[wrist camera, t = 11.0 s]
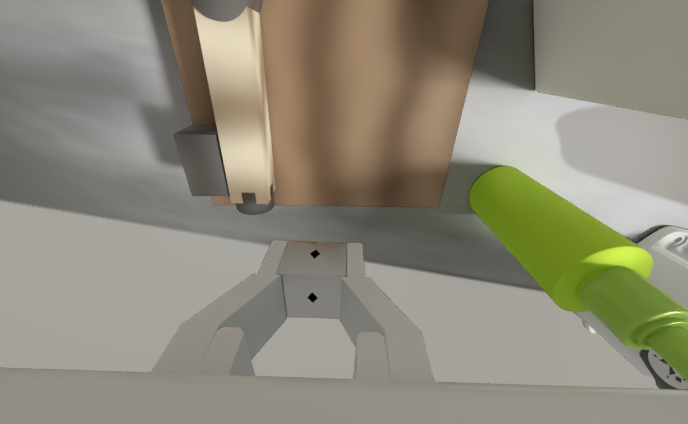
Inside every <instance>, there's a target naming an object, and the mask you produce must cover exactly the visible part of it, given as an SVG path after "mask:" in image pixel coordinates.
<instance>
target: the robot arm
mask: <svg viewBox="0 0 688 424" xmlns="http://www.w3.org/2000/svg"><path fill="white" fill-rule="evenodd" d="M636 245H638V246H640V247H641V248H643V249H644V250H646V251H647V252H648V253H649V254H650V255H651V257H652V259H653V268H652V271H651V273H650V275H649V277H648V278H647V280H648V281H650V282H651V283H652V284H654V285H655V286H656V287H658V288H659V289H661V290H662V291H663V292H665V293H666V294H667V295H669V296H670V297H672V298H673V299H674V300H676V301H677V302H679V303H680V304H681V305H683V306H684V307H685V308H687V309H688V230H687V229H682V228H678V227H673V226H668V227H664V228H662V229H659V230H658V231H656V232H654V233H653V234H651V235H649V236H648V237H646V238H645V239H643V240H642V241H640V242H639V243H637V244H636ZM573 313H575V314H576V315H578V316H579V317H580V318H581V319H582V321H583V325H584V327H585V328H586V329H587V330H589V331H590V332H591V333H597V334H599V335H600V336H601V337H602V338H603V339H604V340H605V341H606V342H607V343H608V344H609V345H611V346H612V347H613V348H614V349H615V350H616V351H617V352H618V353H619V354H620V355H622V356H623V357H624V358H625V359H626V360H627V361H628V362H629V363H630V364H632V365H633V366H634V367H635V368H636V369H637V370H638V371H639V372H641V373H642V374H643V375H645V376H647V377H650V378H654V379H655V381H656V385H657V387H658V388H659V389H644V388H613V387H582V386H550V385H520V384H519V385H517V384H489V383H488V384H486V383H458V382H457V383H456V382H435V381H434V378H433V374H432V370H431V366H430V362H429V358H428V355H427V351H426V347H425V343H424V340H423V335H422V332H421V331H420V330H419V329H418V328H417V327H416V326H415V325H414V324H413V323H412V322H411V321H410V320H409V319H408V318H407V317H406V315H405V314H403V312H402V311H401V310H400V309H399V308H398V307H397V306H396V305H395V304H394V303H393V302H392V301H391V300H390V299H389V297H388V296H387V295H386V294H385V293H384V292H383V291H382V290H381V289H380V288H379V287H378V286H377V285H376V284H375V283H374V282H373V281H372V280H371V279H370V278H365V269H364V255H363V244H362V243H319V242H304V241H283V240H273V241H272V242H271V243H270V246H269V248H268V251H267V253H266V255H265V258H264V260H263V262H262V265H261V267H260V270H259V272H258V274H252V275H251V276H249V277H248V278H247V279H245V280H244V281H242V282H241V283H239V284H238V285H236V286H235V287H234V288H232V289H231V290H229V291H228V292H226V293H225V294H224V295H222V296H221V297H219V298H218V299H216V300H215V301H214V302H212V303H211V304H209V305H208V306H207V307H205V308H204V309H202V310H201V311H199V312H198V313H196V314H195V315H193V316H192V317H191V318H189V319H188V320H186V321H185V322H183V323H182V324H181V325H180V327H179V328H178V330H177V331H176V333H175V335H174V336H173V338H172V339H171V341H170V343H169V344H168V346H167V347H166V349H165V351H164V352H163V354H162V356H161V357H160V359H159V360H158V362H157V363H156V365H155V367H154V368H153V370H152V371H151V372H148V373H147V372H121V371H90V370H60V369H58V370H57V369H29V368H0V424H688V382H687V381H686V380H685V379H684V378H683V377H682V376H681V375H680V374H679V373H678V372H677V371H676V370H675V369H673V368H672V367H671V366H670V365H669V364H668V363H667V362H666V361H665V360H664V359H663V358H662V357H661V356H659V355H658V354H657V353H656V352H655V351H654V350H645V349H632V348H629V347H627V346H625V345H624V344H623V343H622V342H621V341H620V340H619V339H618V338H617V337H616V336H615V335H614V334H613V333H612V332H611V331H610V330H609V329H608V328H607V327H606V326H605V325H604V324H603V323H602V322H601V321H600V320H599V319H598V318H597V317H596V316H595V315H594V314H593V313H592V312H591V311H588V312H573ZM286 317H302V318H304V317H305V318H306V317H307V318H308V317H309V318H330V319H340V321H341V323H342V325H343V327H344V328H345V330H346V332H347V333H348V335H349V337H350V339H351V340H352V342H353V344H354V346H355V347H356V351H355V362H354V373H353V379H334V378H331V379H330V378H302V377H272V376H270V377H269V376H255V373H254V369H253V365H252V361H251V360H252V359H253V357H254V356H255V355H256V354H257V353H258V352H259V351H260V349H261V348H262V347H263V346H264V345H265V344H266V342H267V341H268V340H269V339H270V338H271V337H272V335H273V334H274V333H275V332H276V331H277V330H278V328H279V327H280V326H281V325H282V324H283V323H284V322H285V320H286V319H287V318H286Z"/></svg>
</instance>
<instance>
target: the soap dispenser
mask: <svg viewBox="0 0 688 424" xmlns="http://www.w3.org/2000/svg"><path fill="white" fill-rule="evenodd" d="M469 204H470V206H471V208H472V209H473V210H474V211H475V213H476V214H477V215H478V216H479V217H480V218H481V219H482V220H483V222H484V223H485V224H486V225H487V226H488V227H489V228H490V230H491V231H492V232H493V233H494V234H495V235H496V236H497V237H498V239H499V240H500V241H501V242H502V243H503V244H504V245H505V247H506V248H507V249H508V250H509V251H510V252H511V253H512V254H513V256H514V257H515V258H516V259H517V260H518V261H519V262H520V264H521V265H522V266H523V267H524V268H525V269H526V270H527V272H528V273H529V274H530V275H531V276H532V277H533V278H534V279H535V281H536V282H537V283H538V284H539V285H540V286H541V287H542V289H543V290H544V291H545V292H546V293H547V294H548V295H549V296H550V297H551V299H552V300H553V301H554V302H555V303H556V304H557V305H558V306H559V307H560V308H562V309H564V310H567V311H572V312H588V311H591V312H592V313H593V314H594V315H595V316H596V317H597V318H598V319H599V320H600V321H601V322H602V323H603V324H604V325H605V326H606V327H607V328H608V329H609V330H610V331H611V332H612V333H613V334H614V335H615V336H616V337H617V338H618V339H619V340H620V341H621V342H622V343H623V344H624V345H625V346H627V347H629V348H632V349H645V350H654V351H655V352H656V353H657V354H658V355H659V356H661V357H662V358H663V359H664V360H665V361H666V362H667V363H668V364H669V365H670V366H671V367H672V368H673V369H675V370H676V371H677V372H678V373H679V374H680V375H681V376H682V377H683V378H684V379H685V380H686V381H687V382H688V309H687V308H685V307H684V306H683V305H681V304H680V303H679V302H677V301H676V300H674V299H673V298H672V297H670V296H669V295H667V294H666V293H665V292H663V291H662V290H661V289H659V288H658V287H656V286H655V285H654V284H652V283H651V282H650V281H648V280H647V278H648V277H649V275H650V273H651V271H652V268H653V259H652V257H651V255H650V254H649V253H648V252H647V251H646V250H644V249H643V248H641V247H640V246H638V245H636V244H635V243H633V242H632V241H630V240H628V239H627V238H625V237H624V236H622V235H621V234H619V233H617V232H616V231H614V230H613V229H611V228H610V227H608V226H606V225H605V224H603V223H602V222H600V221H598V220H597V219H595V218H594V217H592V216H591V215H589V214H587V213H586V212H584V211H583V210H581V209H579V208H578V207H576V206H575V205H573V204H572V203H570V202H568V201H567V200H565V199H564V198H562V197H560V196H559V195H557V194H556V193H554V192H553V191H551V190H549V189H548V188H546V187H545V186H543V185H541V184H540V183H538V182H537V181H535V180H534V179H532V178H530V177H529V176H527V175H526V174H524V173H523V172H521V171H519V170H518V169H516V168H513V167H509V166H502V167H497V168H493V169H491V170H489V171H487V172H485V173H484V174H482V175H481V176H480V177H479V178H478V179H477V180H476V181H475V182H474V184H473V185H472V187H471V189H470V192H469Z"/></svg>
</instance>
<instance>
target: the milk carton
mask: <svg viewBox="0 0 688 424" xmlns="http://www.w3.org/2000/svg"><path fill="white" fill-rule="evenodd" d="M534 46H535V85H536V91H537V92H539V93H545V94H550V95H556V96H561V97H567V98H572V99H577V100H583V101H588V102H594V103H599V104H605V105H610V106H615V107H621V108H627V109H632V110H637V111H643V112H648V113H654V114H659V115H664V116H670V117H675V118H681V119H686V120H688V0H534Z"/></svg>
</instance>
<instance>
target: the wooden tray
mask: <svg viewBox="0 0 688 424" xmlns="http://www.w3.org/2000/svg"><path fill="white" fill-rule="evenodd" d="M488 3H489V0H262V7H261V10H260V13H259V15H260V26H261V37H262V48H263V58H264V69H265V80H266V91H267V101H268V112H269V123H270V134H271V145H272V155H273V166H274V177H275V188H276V189H275V191H274V202H275V205H287V206H380V207H439V205H440V201H441V197H442V193H443V189H444V185H445V180H446V176H447V172H448V168H449V164H450V160H451V156H452V152H453V147H454V143H455V139H456V135H457V131H458V127H459V123H460V119H461V115H462V110H463V106H464V102H465V98H466V94H467V90H468V86H469V82H470V77H471V73H472V69H473V65H474V61H475V57H476V53H477V49H478V44H479V40H480V36H481V32H482V28H483V24H484V20H485V16H486V11H487V7H488ZM161 4H162V8H163V11H164V15H165V19H166V23H167V27H168V31H169V34H170V38H171V42H172V46H173V50H174V54H175V58H176V61H177V65H178V69H179V73H180V77H181V81H182V84H183V88H184V92H185V96H186V100H187V104H188V107H189V111H190V115H191V119H192V123H193V125H191V126H189V127H187V128H185V129H183V130H181V131H179V132H177V133H175V134H174V138H175V141H176V144H177V148H178V151H179V154H180V157H181V161H182V164H183V167H184V171H185V174H186V177H187V181H188V184H189V187H190V190H191V194H192V196H212V200H213V203H214V205H236V203H231V199H230V193H229V188H228V183H227V178H226V173H225V168H224V163H223V157H222V152H221V147H220V142H219V137H218V132H217V126H216V121H215V116H214V111H213V106H212V101H211V95H210V90H209V85H208V80H207V75H206V70H205V64H204V59H203V54H202V49H201V44H200V39H199V34H198V28H197V23H196V18H195V13H194V8H193V4H192V3H191V2H190V0H161Z"/></svg>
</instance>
